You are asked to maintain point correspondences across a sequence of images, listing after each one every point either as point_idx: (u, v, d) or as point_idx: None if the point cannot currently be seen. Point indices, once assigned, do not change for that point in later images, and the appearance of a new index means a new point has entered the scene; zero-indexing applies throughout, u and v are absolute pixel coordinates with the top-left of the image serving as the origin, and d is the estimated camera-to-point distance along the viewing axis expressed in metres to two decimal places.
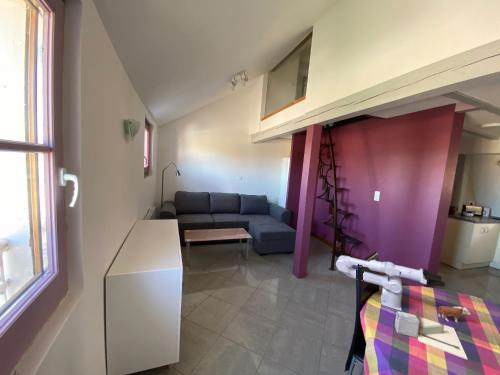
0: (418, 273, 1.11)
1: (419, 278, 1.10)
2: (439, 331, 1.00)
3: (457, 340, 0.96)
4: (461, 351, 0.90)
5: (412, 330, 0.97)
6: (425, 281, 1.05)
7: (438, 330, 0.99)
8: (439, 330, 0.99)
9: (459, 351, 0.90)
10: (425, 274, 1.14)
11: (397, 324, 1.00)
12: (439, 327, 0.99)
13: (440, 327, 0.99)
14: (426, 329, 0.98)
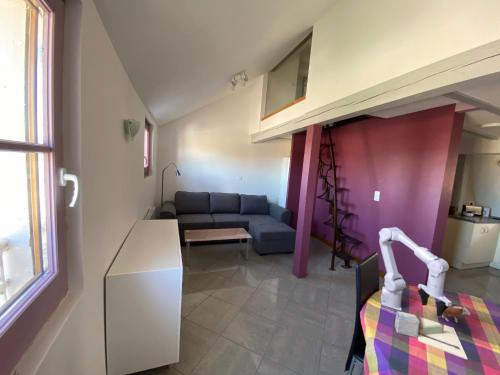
0: (442, 293, 1.00)
1: (439, 295, 0.99)
2: (439, 331, 1.00)
3: (457, 340, 0.96)
4: (461, 351, 0.90)
5: (412, 330, 0.97)
6: (450, 305, 0.95)
7: (438, 330, 0.99)
8: (439, 330, 0.99)
9: (459, 351, 0.90)
10: (426, 293, 1.05)
11: (397, 324, 1.00)
12: (439, 327, 0.99)
13: (440, 327, 0.99)
14: (426, 329, 0.98)
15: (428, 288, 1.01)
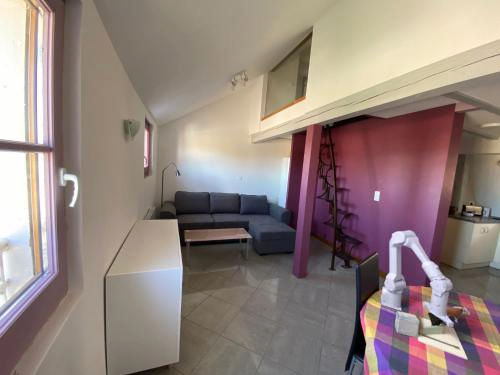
0: (445, 313, 0.98)
1: (441, 314, 0.97)
2: (440, 332, 0.99)
3: (457, 340, 0.96)
4: (461, 351, 0.90)
5: (412, 330, 0.97)
6: (451, 325, 0.93)
7: (439, 331, 0.99)
8: (440, 331, 0.99)
9: (459, 351, 0.90)
10: None
11: (397, 324, 1.00)
12: (439, 328, 0.99)
13: (441, 328, 0.99)
14: (426, 329, 0.98)
15: (430, 306, 1.00)
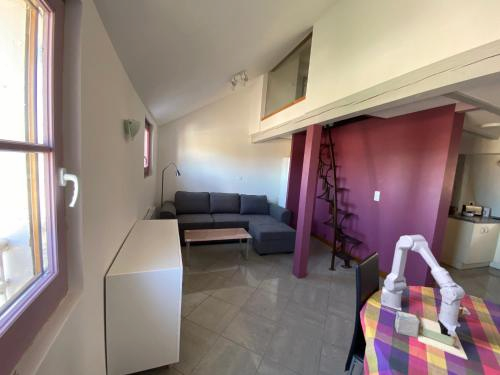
0: (454, 323, 0.91)
1: (448, 323, 0.92)
2: (448, 343, 0.93)
3: (457, 340, 0.96)
4: (461, 351, 0.90)
5: (412, 330, 0.97)
6: (452, 334, 0.88)
7: (447, 341, 0.93)
8: (448, 341, 0.93)
9: (459, 351, 0.90)
10: None
11: (397, 324, 1.00)
12: (448, 338, 0.93)
13: (450, 339, 0.93)
14: (428, 332, 0.97)
15: None
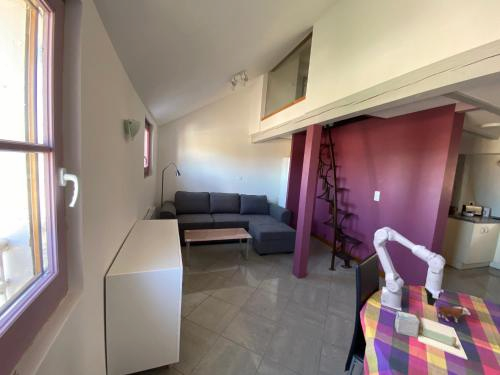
0: (438, 289, 1.03)
1: (433, 289, 1.04)
2: (448, 343, 0.93)
3: (457, 340, 0.96)
4: (461, 351, 0.90)
5: (412, 330, 0.97)
6: (436, 297, 1.00)
7: (447, 341, 0.93)
8: (448, 341, 0.93)
9: (459, 351, 0.90)
10: None
11: (397, 324, 1.00)
12: (448, 338, 0.93)
13: (450, 339, 0.93)
14: (428, 332, 0.97)
15: (426, 281, 1.08)
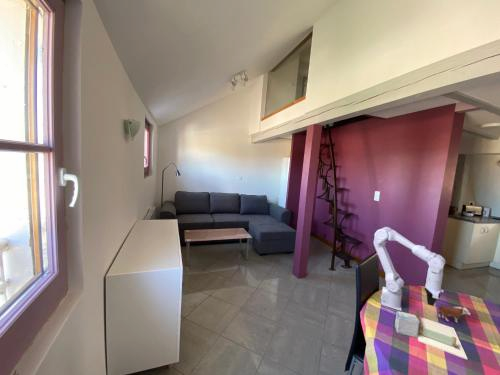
0: (438, 289, 1.03)
1: (433, 289, 1.04)
2: (448, 343, 0.93)
3: (457, 340, 0.96)
4: (461, 351, 0.90)
5: (412, 330, 0.97)
6: (436, 297, 1.00)
7: (447, 341, 0.93)
8: (448, 341, 0.93)
9: (459, 351, 0.90)
10: None
11: (397, 324, 1.00)
12: (448, 338, 0.93)
13: (450, 339, 0.93)
14: (428, 332, 0.97)
15: (426, 281, 1.08)
